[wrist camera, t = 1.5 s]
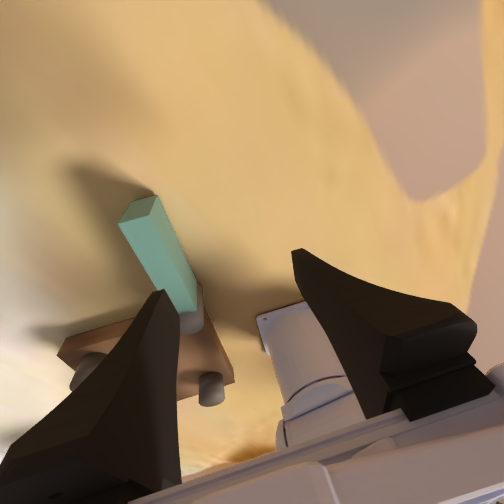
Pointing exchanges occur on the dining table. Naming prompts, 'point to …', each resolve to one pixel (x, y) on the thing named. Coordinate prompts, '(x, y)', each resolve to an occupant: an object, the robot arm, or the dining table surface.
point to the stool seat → (189, 360)
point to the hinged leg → (164, 259)
